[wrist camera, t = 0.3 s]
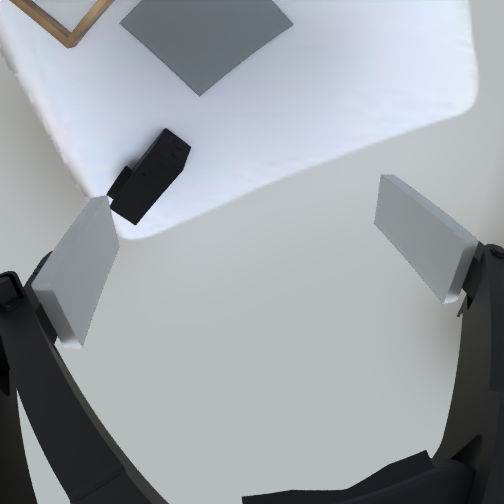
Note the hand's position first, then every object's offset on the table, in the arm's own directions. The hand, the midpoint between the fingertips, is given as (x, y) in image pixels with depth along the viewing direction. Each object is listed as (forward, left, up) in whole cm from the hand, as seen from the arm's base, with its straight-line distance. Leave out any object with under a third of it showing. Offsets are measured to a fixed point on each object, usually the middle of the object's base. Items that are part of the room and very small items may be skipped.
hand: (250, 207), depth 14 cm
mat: (-2, -10, -26) cm, 28 cm away
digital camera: (+16, -1, -26) cm, 31 cm away
